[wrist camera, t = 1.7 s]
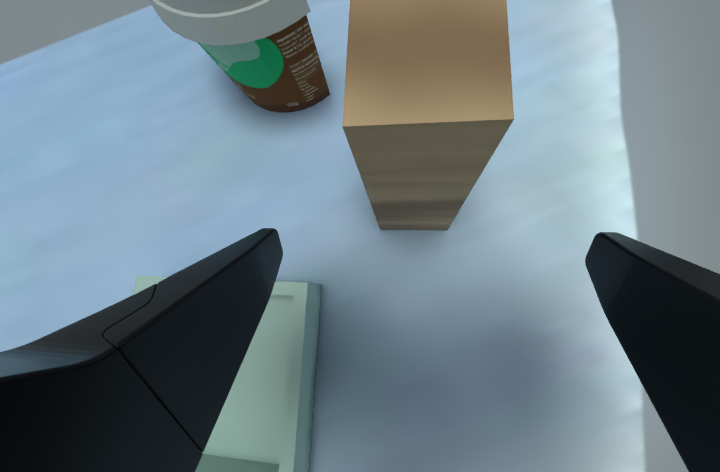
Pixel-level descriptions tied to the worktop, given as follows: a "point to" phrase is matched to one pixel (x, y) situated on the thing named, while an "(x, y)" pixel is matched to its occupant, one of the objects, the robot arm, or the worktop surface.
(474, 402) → the worktop surface
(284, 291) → the tray
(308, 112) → the worktop surface
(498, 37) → the walnut post
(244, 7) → the food container
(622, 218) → the worktop surface
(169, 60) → the worktop surface
